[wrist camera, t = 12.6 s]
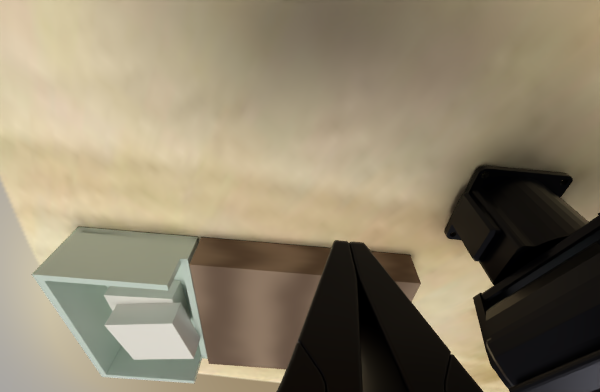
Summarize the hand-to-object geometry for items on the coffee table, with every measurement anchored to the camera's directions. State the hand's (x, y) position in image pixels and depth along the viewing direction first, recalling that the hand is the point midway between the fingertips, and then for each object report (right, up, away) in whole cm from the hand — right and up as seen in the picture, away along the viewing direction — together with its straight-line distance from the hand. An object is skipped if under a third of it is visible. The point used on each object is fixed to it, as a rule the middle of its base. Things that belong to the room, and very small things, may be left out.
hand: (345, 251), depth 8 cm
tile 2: (-15, -10, +20) cm, 27 cm away
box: (-16, -8, +21) cm, 27 cm away
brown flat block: (-1, -9, +21) cm, 23 cm away
